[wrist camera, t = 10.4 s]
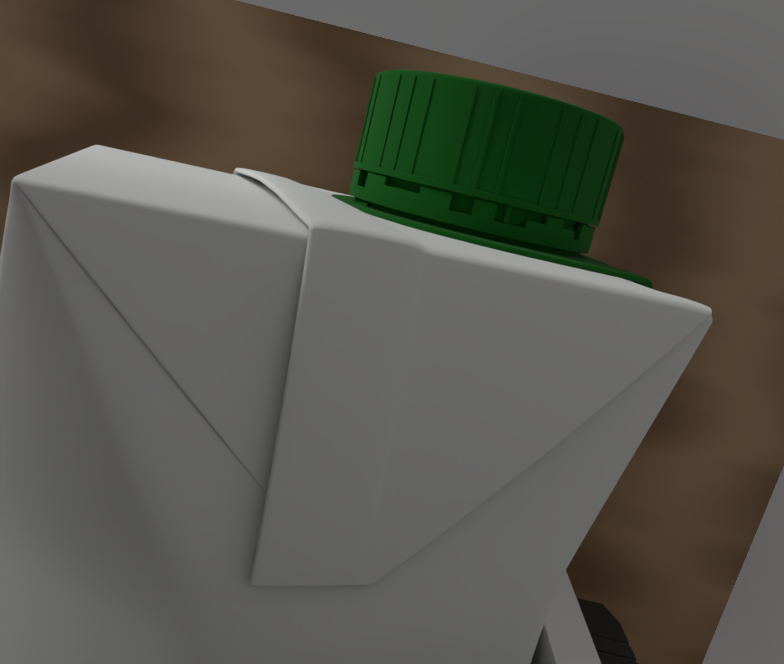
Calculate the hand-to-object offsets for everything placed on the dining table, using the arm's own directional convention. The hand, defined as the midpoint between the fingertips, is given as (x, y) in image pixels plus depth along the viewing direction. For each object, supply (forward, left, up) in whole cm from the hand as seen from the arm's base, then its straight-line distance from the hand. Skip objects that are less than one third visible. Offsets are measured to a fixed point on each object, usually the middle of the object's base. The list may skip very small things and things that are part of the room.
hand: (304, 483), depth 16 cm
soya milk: (0, -4, -11) cm, 12 cm away
